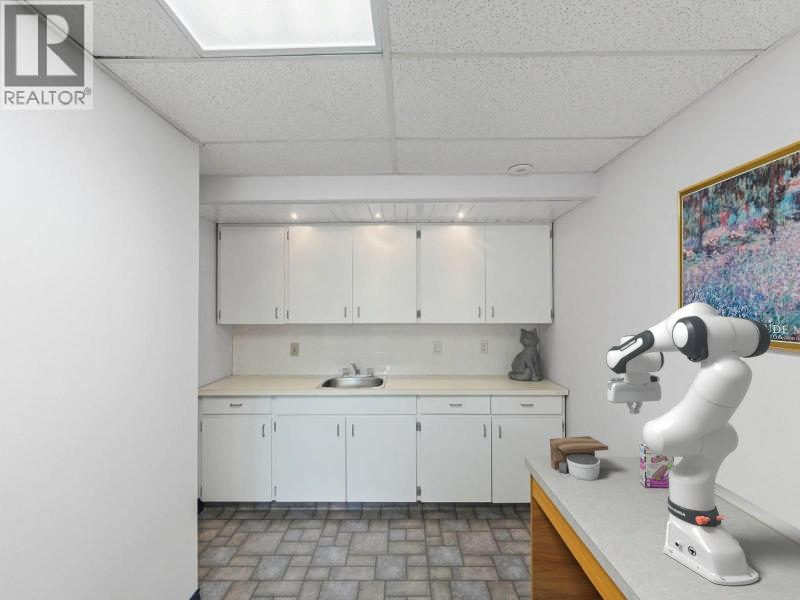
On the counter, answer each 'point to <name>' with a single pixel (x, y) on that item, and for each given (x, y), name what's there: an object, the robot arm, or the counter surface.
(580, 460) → the ramekin
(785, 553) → the counter surface
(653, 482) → the candy bar box
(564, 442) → the walnut shelf
